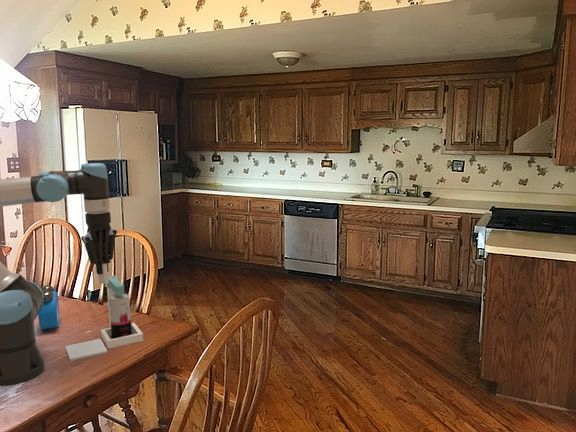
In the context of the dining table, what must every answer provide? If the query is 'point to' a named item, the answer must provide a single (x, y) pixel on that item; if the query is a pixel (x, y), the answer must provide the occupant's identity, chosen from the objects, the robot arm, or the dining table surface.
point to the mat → (85, 349)
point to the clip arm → (115, 285)
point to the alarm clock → (49, 309)
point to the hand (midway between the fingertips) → (103, 282)
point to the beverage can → (120, 315)
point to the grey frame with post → (121, 340)
